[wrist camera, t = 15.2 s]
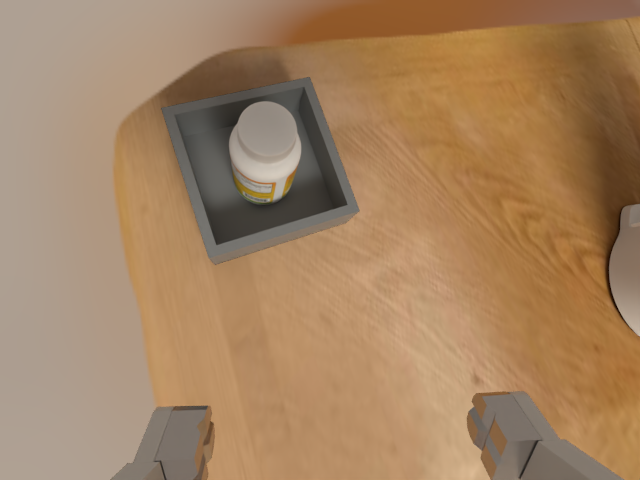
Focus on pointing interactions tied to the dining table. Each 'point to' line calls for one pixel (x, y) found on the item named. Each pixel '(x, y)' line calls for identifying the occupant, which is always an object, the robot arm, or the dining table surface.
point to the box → (218, 184)
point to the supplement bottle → (264, 152)
